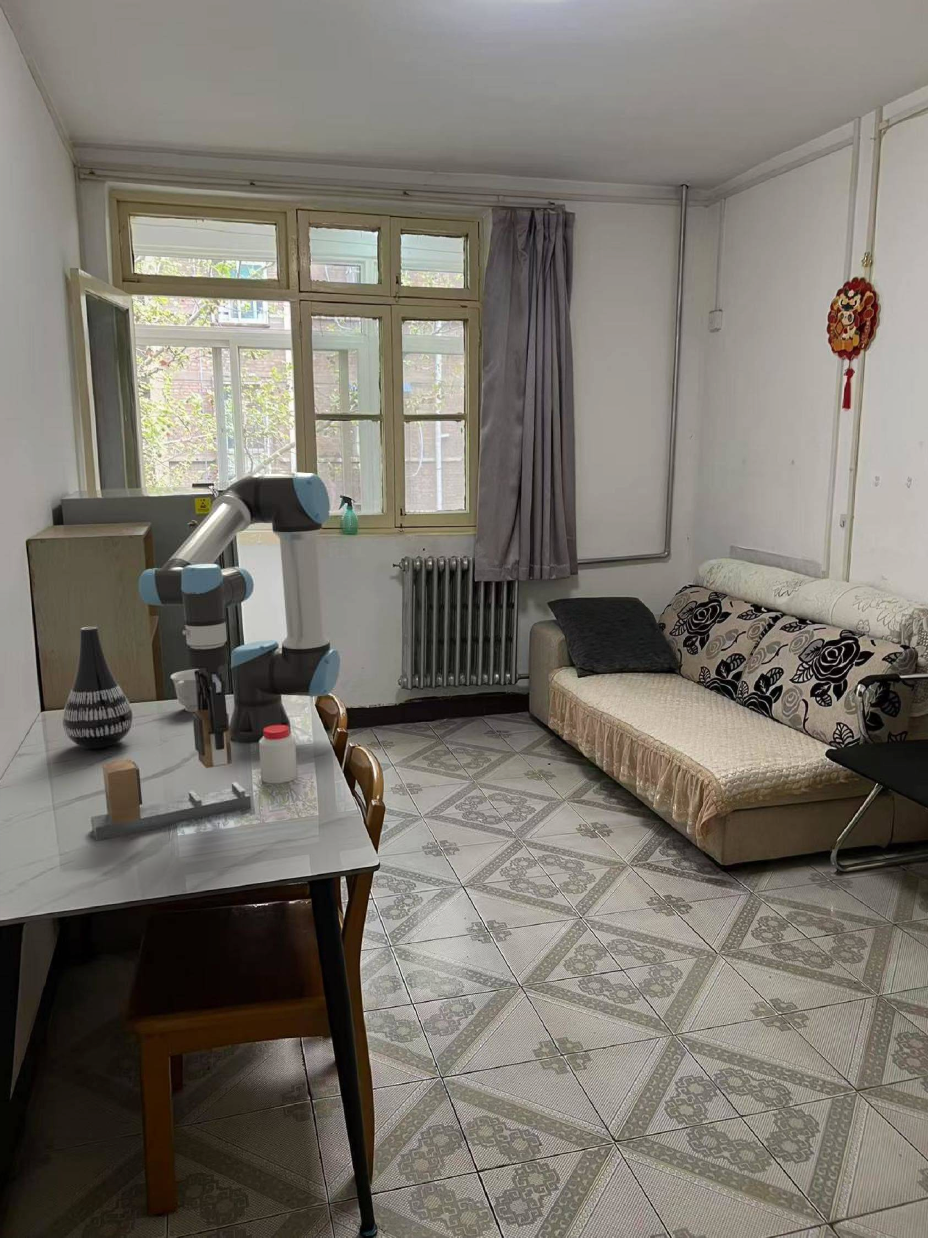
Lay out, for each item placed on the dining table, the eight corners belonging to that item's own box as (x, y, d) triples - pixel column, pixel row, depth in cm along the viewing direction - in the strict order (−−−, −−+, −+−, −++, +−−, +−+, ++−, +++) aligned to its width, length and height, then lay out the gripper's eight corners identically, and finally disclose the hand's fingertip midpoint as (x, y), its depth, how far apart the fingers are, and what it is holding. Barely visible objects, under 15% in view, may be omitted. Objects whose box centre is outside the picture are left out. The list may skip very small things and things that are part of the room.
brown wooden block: (223, 755, 186) (220, 707, 184) (232, 763, 181) (228, 714, 179) (195, 760, 183) (191, 711, 181) (203, 768, 178) (199, 718, 176)
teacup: (160, 717, 249) (156, 681, 247) (185, 702, 264) (182, 668, 262) (202, 718, 247) (199, 682, 245) (225, 703, 262) (222, 669, 260)
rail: (242, 798, 189) (238, 739, 187) (251, 807, 184) (246, 747, 182) (92, 829, 175) (85, 766, 173) (96, 840, 170) (90, 776, 168)
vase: (135, 732, 236) (125, 619, 231) (134, 751, 221) (123, 631, 216) (68, 740, 231) (56, 625, 226) (62, 760, 216) (49, 637, 211)
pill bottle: (304, 773, 203) (301, 725, 201) (283, 785, 196) (280, 735, 194) (275, 769, 206) (272, 721, 204) (254, 780, 199) (250, 731, 197)
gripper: (175, 639, 184) (184, 750, 188) (199, 656, 168) (208, 777, 172) (213, 634, 188) (221, 744, 192) (240, 650, 171) (248, 769, 176)
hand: (215, 759), depth 182 cm, fingers closed on brown wooden block, 6 cm apart
